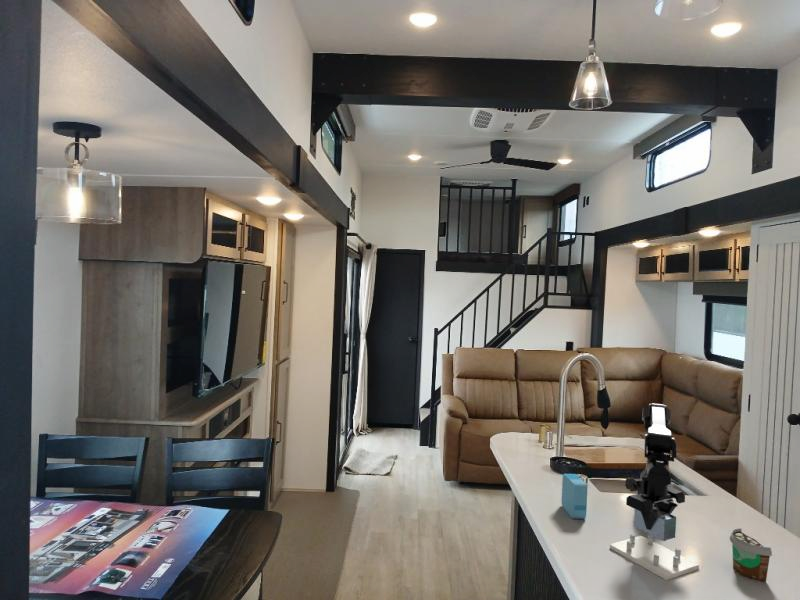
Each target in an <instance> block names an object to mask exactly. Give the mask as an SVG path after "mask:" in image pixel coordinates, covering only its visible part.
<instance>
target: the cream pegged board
mask: <svg viewBox="0 0 800 600" xmlns="http://www.w3.org/2000/svg"><path fill="white" fill-rule="evenodd" d="M609 549H611V550H612V551H614V552H616V553H618V554H619V555H621V556H623V557H625V559H626V558H627V559H628V560H630V561H632V562H633V563H635V564H636V565H639V566H641V567H642V568H645V569H646V570H648V571H650V572H651V573H653V574H655V575H657V576H658V577H660V578H662V579H664V580H666V581H668V580H670V579H671V580H672V579H673V578H676V577H680V576H682V575H685V574H687V573H691V572H695V571H696V570H699V569H700V564H698V563H696V562H694V561H693V560H691V559H688V558H686V557H684V556H683V555H681V552H682V551H681V549H680V548H675V549H674V551H673V550H671V549H668V548H667V547H665V546H663V545H661V544H659V543H657V542H654V536H653V535H651V534H648V535H647V537H646V536H642V535H638V536H636V534H634V533H630V534H629V538H627V539H624V540H621V541H617V542H613V543H610V544H609Z"/></svg>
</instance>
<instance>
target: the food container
mask: <svg viewBox="0 0 800 600" xmlns="http://www.w3.org/2000/svg"><path fill="white" fill-rule="evenodd" d="M742 531H743V530H742V528H735V529H733V530H732V531H731V533H730V535H729V541H730V542H731V543H732V544H731V545H732V547H731V548H732V569H733V571H734V570H735V571H734V572H735V573H737V575H739V576H741V577H744V578H746V579H749V580H752V581H756V582H761V583H762V582H763V583H767V577H768V571H769V570H768V569H769V565H770V564H769V562H770V558H771V557H772V556H773V554H772V551H773V550H772V548H771V547H769V546H768V547H767V546H763V545H762V544H761V543H760V542H759V541H758V540H757V539H755V538H753V537H751V536H749V535H747V534H745V533H744V532H742Z"/></svg>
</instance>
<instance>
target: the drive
mask: <svg viewBox="0 0 800 600" xmlns="http://www.w3.org/2000/svg"><path fill="white" fill-rule="evenodd" d="M654 509H656V510H657V513H656V516H655V519H654V522H653V524H652V527H651V529H650V530H648V529H646V526H645V523H644V520H643V516H642V514H641V511H639V510H636V509H634V512H633V513H634V515H633V517H634V518H633V526H634V527H636V528H637V529H639V530H641V531H643V532H645V533H647V534H648V535H652V536H653V537H654V538H657V539H659V540H660V541H663V542H665V541H668V540H672V539H675V538H676V530H677V529H676V528H677V527H676V526H677V516H675V515H674V514H672V513H671V514H669V513H666V512H664V511H662V510H660V509H658V508H655V507H654Z"/></svg>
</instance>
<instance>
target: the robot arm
mask: <svg viewBox="0 0 800 600" xmlns="http://www.w3.org/2000/svg"><path fill="white" fill-rule="evenodd" d="M641 413H642V418H641V421H643V423H644V424H643V425H644V426H643V427H644V429H645V431H646V432H647V434H646V433H644V458H646V463H645V464H646V465H645V468H644V469H643V470H642V472H640V478H634V477H627V478H625V483H624V484H625V485H624V486H625V487H626V489H627V490H629V492H630V493H634V492H637V493H635V494H631V495H628V496H627V497H626V498H625V499H626V501H625V503H626V506H628V507H630V508H632V509H634V510H635V509H636V510H639V511H641V514H642V516H643V520H644V523H645V526H646V529H648V530H650V529H651V527H652V524H653V522H654V519H655V516H656V513H657V510H656V509H654V507H655V508H658V509H660V510H662V511H664V512H666V513H669V514H671V515H672V513H673V511H675V508H677V507H678V506H679V505H678V504H683V503H685V502H686V495H685V493H684V492H683V491H681V490H679V489H677V488H674V487H671V486H669V485H672V475H671V470H670V462H673V463H674V462H675V459H676V458H677V441H676V439H675V437H673V436H672V435H673V434H672V431H671V430H670V429H669V428H668V426H669V425H670V424H671V421H672V419H671V418H672V417H671V416H672V410H671V409H669V408H668V407H667V405H665V404H661V403H653V402H652V403H649V404H648V405H645V406H643V407H642V412H641ZM673 499H675V502H676V503H675V502H674V500H673Z"/></svg>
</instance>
